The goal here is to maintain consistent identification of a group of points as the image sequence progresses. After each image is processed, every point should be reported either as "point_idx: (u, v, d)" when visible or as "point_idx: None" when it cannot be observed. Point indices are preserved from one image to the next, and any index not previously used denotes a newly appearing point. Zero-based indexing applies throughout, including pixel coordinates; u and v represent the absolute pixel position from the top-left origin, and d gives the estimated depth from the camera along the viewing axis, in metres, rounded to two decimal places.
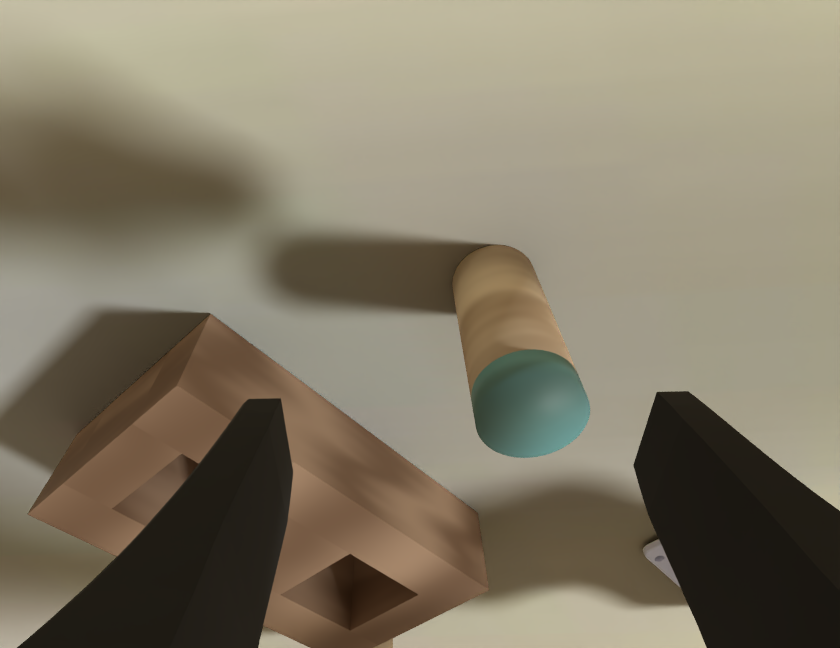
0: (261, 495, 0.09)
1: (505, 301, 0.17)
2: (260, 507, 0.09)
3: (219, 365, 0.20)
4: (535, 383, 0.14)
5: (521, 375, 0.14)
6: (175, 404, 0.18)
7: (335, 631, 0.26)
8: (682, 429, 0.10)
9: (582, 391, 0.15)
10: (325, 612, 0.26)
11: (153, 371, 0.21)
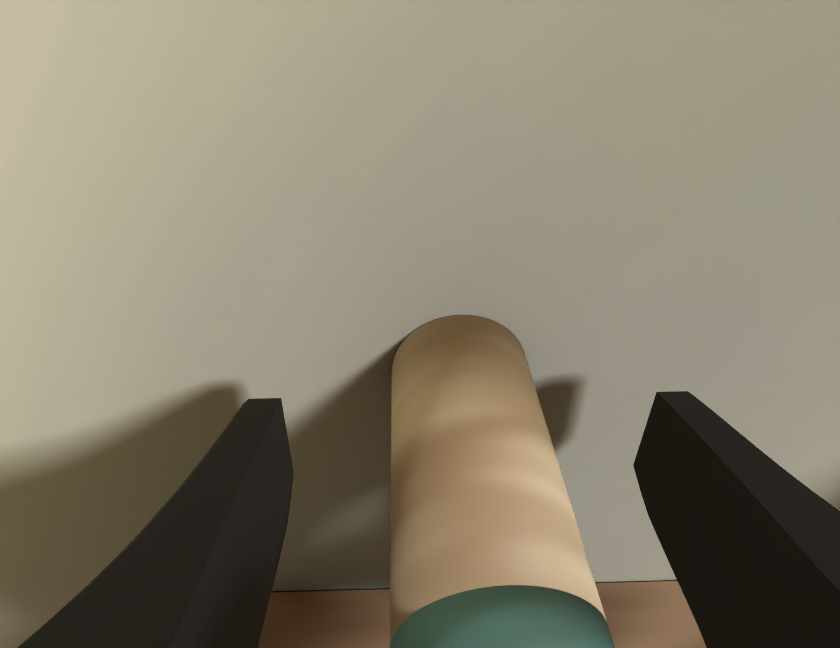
0: (261, 495, 0.09)
1: (401, 477, 0.09)
2: (260, 508, 0.09)
3: None
4: None
5: None
6: None
7: None
8: (682, 429, 0.10)
9: None
10: None
11: None
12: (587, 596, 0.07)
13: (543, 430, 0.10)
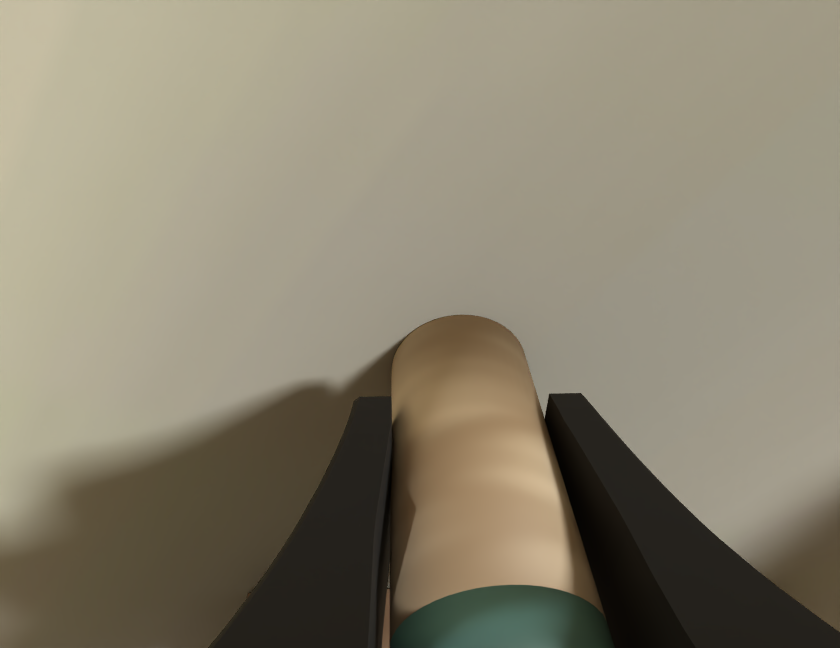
0: (386, 492, 0.09)
1: (402, 477, 0.09)
2: (386, 505, 0.09)
3: None
4: None
5: None
6: None
7: None
8: (564, 431, 0.10)
9: None
10: None
11: None
12: (587, 596, 0.07)
13: (543, 430, 0.10)
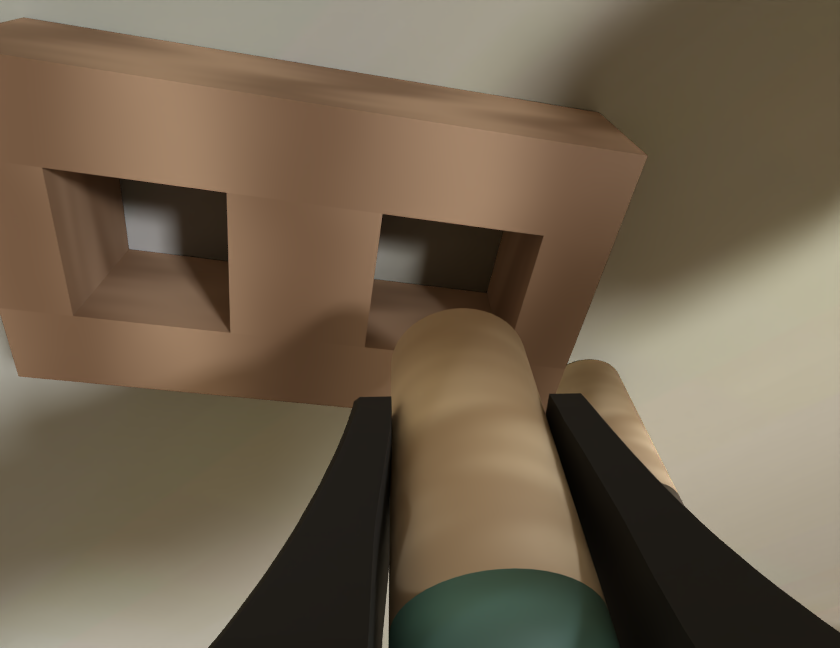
0: (386, 492, 0.09)
1: (397, 471, 0.09)
2: (386, 504, 0.09)
3: (22, 36, 0.14)
4: None
5: None
6: None
7: None
8: (564, 431, 0.10)
9: None
10: None
11: None
12: (581, 577, 0.07)
13: (539, 416, 0.10)
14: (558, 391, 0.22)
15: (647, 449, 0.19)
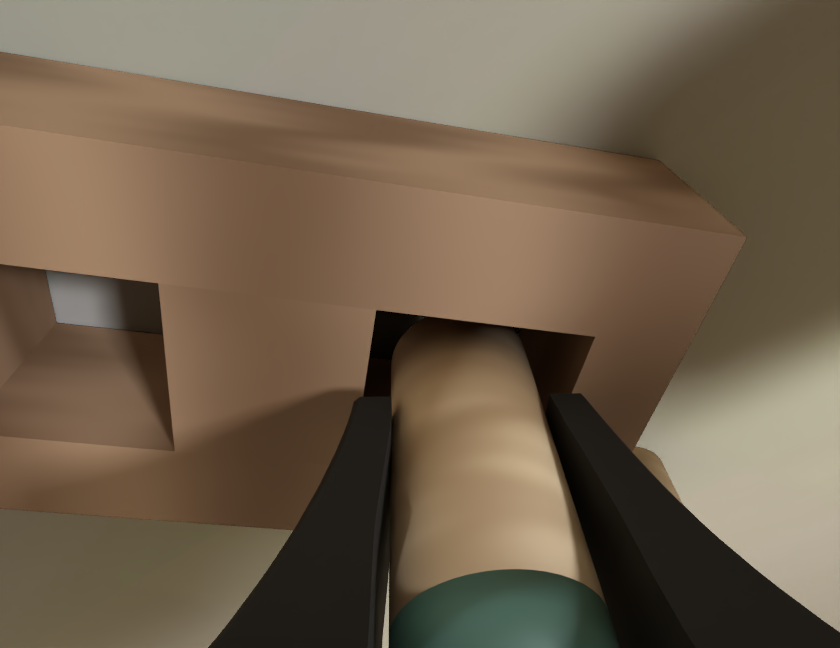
0: (386, 492, 0.09)
1: (397, 472, 0.09)
2: (386, 504, 0.09)
3: None
4: None
5: None
6: None
7: None
8: (564, 431, 0.10)
9: None
10: None
11: None
12: (582, 578, 0.07)
13: (539, 417, 0.10)
14: None
15: None
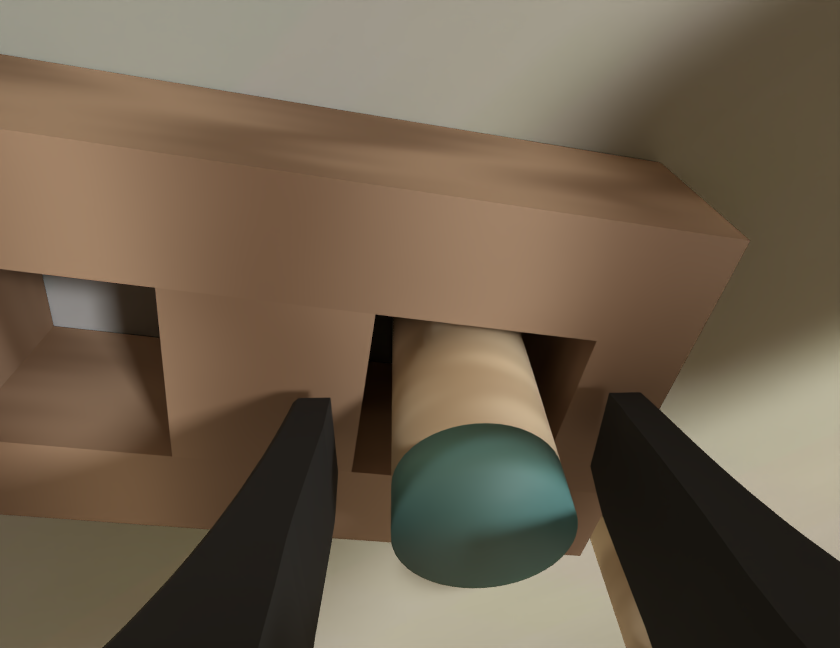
0: (317, 494, 0.09)
1: (398, 373, 0.12)
2: (317, 506, 0.09)
3: None
4: (424, 508, 0.09)
5: (396, 514, 0.09)
6: None
7: None
8: (630, 430, 0.10)
9: (491, 472, 0.08)
10: None
11: None
12: (539, 435, 0.10)
13: (514, 332, 0.12)
14: None
15: None
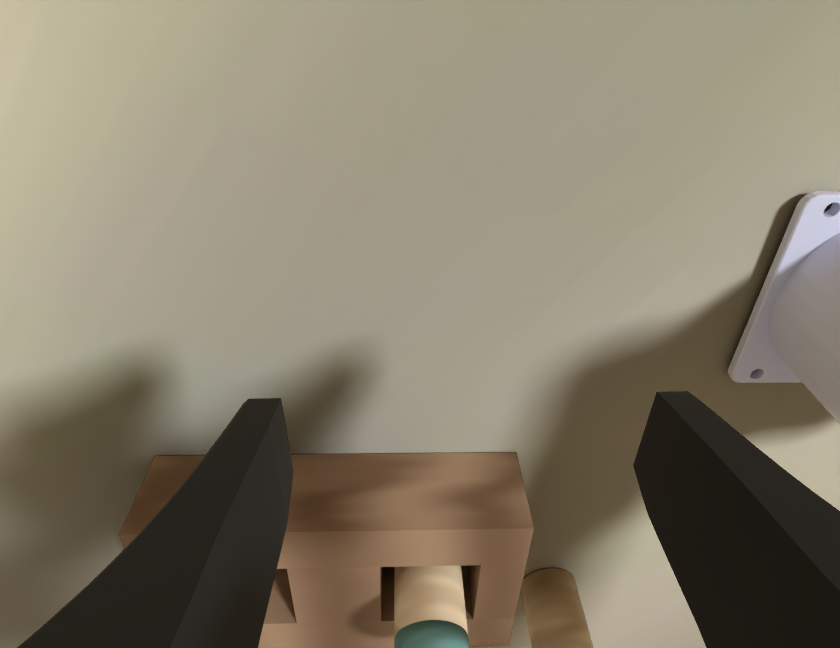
0: (261, 495, 0.09)
1: (395, 580, 0.25)
2: (260, 507, 0.09)
3: (162, 494, 0.24)
4: None
5: None
6: None
7: None
8: (682, 429, 0.10)
9: (428, 646, 0.22)
10: None
11: None
12: (452, 620, 0.23)
13: None
14: (526, 596, 0.31)
15: None
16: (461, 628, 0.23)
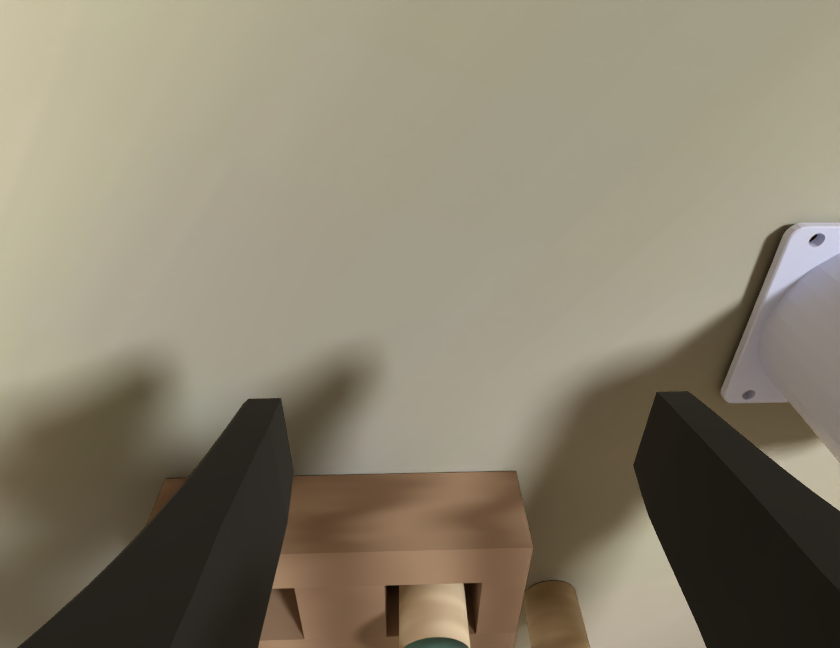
0: (261, 495, 0.09)
1: (400, 597, 0.26)
2: (260, 508, 0.09)
3: None
4: None
5: None
6: None
7: None
8: (682, 429, 0.10)
9: None
10: None
11: None
12: (455, 637, 0.23)
13: None
14: (528, 607, 0.32)
15: None
16: (464, 644, 0.23)
